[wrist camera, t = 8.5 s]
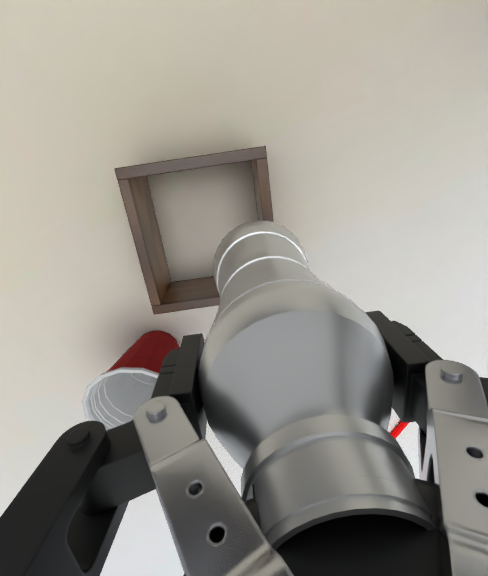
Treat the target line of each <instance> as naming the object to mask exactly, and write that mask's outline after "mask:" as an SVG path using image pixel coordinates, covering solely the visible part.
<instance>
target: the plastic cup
mask: <svg viewBox="0 0 488 576" xmlns="http://www.w3.org/2000/svg"><path fill="white" fill-rule="evenodd" d="M173 349H179V346H178V344H177V342H176V340H175V338H173V337H172V336H171V335H170V334H168V333H165V332H163V331H152V332H149V333H146V334H144V335H143V336H142V337H141V338H140V339H138V340H137V341H136V343H135V344H134V345H133V346H131V347H130V348H129V349H128V350H127V351H126V352H125V353H124V354H123V356H122V357H121V358H120V359H119V360H118V361H117V362H116V363H115V364H114V365H113V366H112V367H111V368H110V369H109V370H108V371H107V372H105V373H102V374H101V375H100V376H99V377H98V378H97V379H95V380H94V381H93V382H92V383H91V384H90V385H88V386H87V388H86V391H85V394H84V397H83V399H82V404H83V409H84V413H85V417H86V418H87V419H88V421H99V422H101V423H103V424H104V426H105V428H106V430H109V429H112V428H114V427H117V426H120V425H122V424H125V423H127V422H130V421H131V420H133V417H134V414H135V412H136V410H137V409H138V408H139V407H140V406H141V405H142V404H143V403H145V402H146V401H148V400H150V399H151V396H152V393H153V390H154V387H155V384H156V381H157V378H158V375H159V372H160V369H161V366H162V363H163V360H164V357H165V356H166V355H167V354H168V353H169V352H170V351H171V350H173Z"/></svg>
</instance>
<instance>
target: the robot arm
mask: <svg viewBox="0 0 488 576" xmlns="http://www.w3.org/2000/svg"><path fill="white" fill-rule="evenodd" d="M365 313H366V314H367V315H368V316H369V318H370V319H371V320H372V321H373V322H374V323H375V324H376V326H377V328H378V330H379V332H380V334H381V335H382V337H383V339H384V342H385V345H386V349H387V352H388V355H389V358H390V362H391V366H392V370H393V374H394V391H393V400H392V408H393V409H394V411H395V412H396V414H397V415H398V417H399V418H400V420H401V421H402V423H407V422H415V421H416V422H417V424H418V425H419V429H418V450H419V474H420V479H416V478H413V480H414V481H415V484H416V486H417V488H418V490H419V492H420V494H421V496H422V497H423V499H424V501H425V503H426V504H427V506H428V508H429V510H430V511H431V513H432V515H433V516H430V518H431V519H432V521H433V522H434V524H435V526H436V527H437V529H434V530H427V529H426V528H424V527H423V526H421V525H419V524H417V523H415V522H413V521H411V520H407V519H403V518H400V517H396V516H390V515H380V514H362V515H351V516H345V517H340V518H334V519H331V520H328V521H325V522H322V523H319V524H315V525H313V526H311V527H309V528H307V529H305V530H303V531H301V532H298V533H297V534H295V535H294V536H292V537H291V538H289V539H288V540H286V541H285V542H284V543H282V544H281V545H280V546H279V547H278V548H277V549H276V550H274V549H273V548H272V547H271V546H270V544H269V543H268V541H267V540H266V538H265V536H264V535H263V533H262V531H261V525H260V515H259V508H258V504H257V502H256V501H255V490H254V484H252V489H253V498H251V499H249V500H246V501H245V502H244V501H243V500H242V498H241V496H240V495H239V493H238V492H237V490H236V488H235V487H234V485H233V483H232V482H231V480H230V478H229V477H228V475H227V473H226V472H225V470H224V468H223V467H222V465H221V463H220V462H219V460H218V458H217V457H216V455H215V453H214V452H213V450H212V448H211V447H210V445H209V444H208V442H207V440H206V439H205V435H206V424H207V417H206V414H205V411H204V407H203V404H202V400H201V397H200V392H199V384H198V371H199V365H200V359H201V355H202V352H203V348H204V344H205V343H204V338H203V335H202V334H194V335H186V336H183V340H182V344H181V347H180V349H173V350H171V351H170V352H169V353H168V354H167V355H166V356H165V357H164V360H163V363H162V366H161V369H160V372H159V375H158V378H157V381H156V384H155V387H154V390H153V393H152V396H151V399H150V400H148V401H146V402H145V403H143V404H142V405H141V406H140V407H139V408H138V409H137V410H136V412H135V414H134V417H133V420H131V421H130V422H127V423H125V424H122V425H120V426H117V427H114V428H112V429H109V430H106V428H105V426H104V424H103V423H101V422H99V421H86V422H83V423H80V424H77V425H75V426H73V427H72V428H70V429H69V430H67V431H66V432H65V433H63V434H62V435H61V436H60V437H59V439H58V440H57V441H56V442H55V444H54V445H53V447H52V448H51V449H50V451H49V452H48V453H47V455H46V456H45V457H44V459H43V460H42V462H41V463H40V464H39V466H38V467H37V468H36V470H35V471H34V472H33V474H32V475H31V476H30V478H29V479H28V481H27V482H26V483H25V485H24V486H23V487H22V489H21V490H20V491H19V493H18V494H17V496H16V497H15V498H14V500H13V501H12V502H11V504H10V505H9V506H8V508H7V509H6V510H5V512H4V513H3V515H2V516H1V517H0V576H100V573H101V571H102V568H103V566H104V563H105V561H106V558H107V556H108V553H109V551H110V548H111V545H112V543H113V540H114V538H115V535H116V533H117V530H118V528H119V525H120V523H121V520H122V518H123V515H124V513H125V510H126V508H127V505H128V502H129V501H130V500H132V499H134V498H136V497H139V496H141V495H143V494H145V493H148V492H150V491H152V490H154V489H156V490H157V493H158V496H159V499H160V502H161V505H162V508H163V511H164V514H165V517H166V520H167V523H168V526H169V529H170V532H171V535H172V538H173V541H174V543H175V546H176V549H177V552H178V555H179V558H180V561H181V564H182V567H183V570H184V573H185V574H184V576H488V378H482V377H479V376H478V374H477V373H476V372H475V371H474V370H473V369H471V368H470V367H468V366H466V365H464V364H462V363H459V362H455V361H450V360H443V359H442V358H441V357H440V356H438V355H437V354H436V353H435V352H434V351H433V350H432V349H431V348H430V347H429V346H428V345H427V344H425V343H424V342H422V340H421V339H420V338H419V337H418V336H417V335H415V333H414V332H412V331H411V330H410V329H409V328H408V327H407V326H405V325H403V324H401V323H398V322H396V321H390V320H389V319H388V318H387V317H386V316H385V315H384V314H383V313H382V312H380V311H372V312H365Z"/></svg>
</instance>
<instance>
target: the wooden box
mask: <svg viewBox="0 0 488 576" xmlns="http://www.w3.org/2000/svg"><path fill="white" fill-rule="evenodd" d="M250 160H251V161H252V170H253V178H254V186H255V195H256V203H257V211H258V220H259V221H270V222H273V212H272V203H271V193H270V183H269V174H268V164H267V154H266V146H262V147H255V148H249V149H242V150H235V151H229V152H222V153H215V154H208V155H202V156H195V157H188V158H181V159H175V160H168V161H161V162H155V163H148V164H141V165H134V166H128V167H121V168H115V173H116V177H117V180H118V183H119V187H120V191H121V195H122V198H123V202H124V206H125V209H126V213H127V217H128V220H129V224H130V228H131V232H132V235H133V239H134V243H135V246H136V250H137V254H138V257H139V261H140V265H141V269H142V272H143V276H144V280H145V283H146V287H147V291H148V294H149V298H150V302H151V305H152V309H153V313H154V314H161V313H167V312H174V311H181V310H188V309H195V308H201V307H208V306H215V305H219V304H220V295H219V292H218V290H217V287H216V282H215V278H214V276H212V277H205V278H198V279H192V280H185V281H178V282H171V278H170V274H169V270H168V266H167V261H166V257H165V253H164V249H163V245H162V240H161V236H160V232H159V228H158V224H157V219H156V215H155V211H154V207H153V202H152V198H151V194H150V190H149V186H148V181H147V177H146V176H149V175H155V174H162V173H169V172H176V171H182V170H189V169H196V168H203V167H209V166H216V165H223V164H230V163H236V162H243V161H250Z"/></svg>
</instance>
